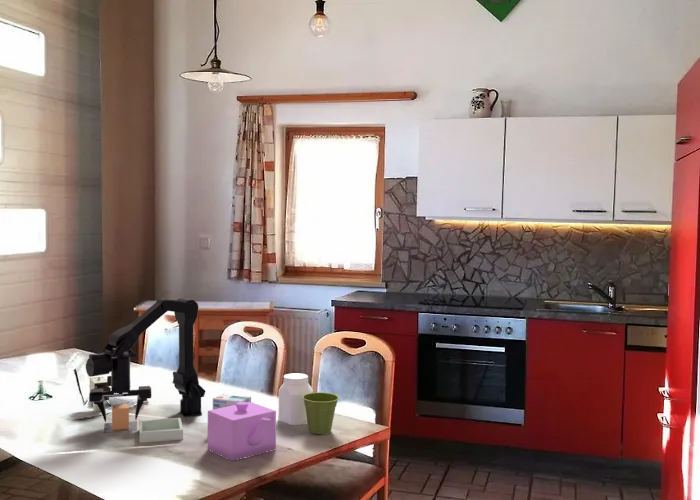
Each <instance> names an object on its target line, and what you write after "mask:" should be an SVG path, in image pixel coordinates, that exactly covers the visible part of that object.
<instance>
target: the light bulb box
mask: <svg viewBox="0 0 700 500" xmlns="http://www.w3.org/2000/svg"><path fill="white" fill-rule="evenodd" d="M238 402H252V397H251V396H247V395H235V394H234V395H233V394H228V393H227V394H225V393H221V394H219V395H217V396H215V397H212V410H214V409H218V408H223V407H228V406H233V405H236V403H238Z"/></svg>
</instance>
